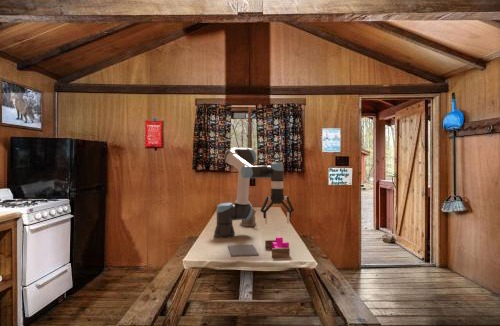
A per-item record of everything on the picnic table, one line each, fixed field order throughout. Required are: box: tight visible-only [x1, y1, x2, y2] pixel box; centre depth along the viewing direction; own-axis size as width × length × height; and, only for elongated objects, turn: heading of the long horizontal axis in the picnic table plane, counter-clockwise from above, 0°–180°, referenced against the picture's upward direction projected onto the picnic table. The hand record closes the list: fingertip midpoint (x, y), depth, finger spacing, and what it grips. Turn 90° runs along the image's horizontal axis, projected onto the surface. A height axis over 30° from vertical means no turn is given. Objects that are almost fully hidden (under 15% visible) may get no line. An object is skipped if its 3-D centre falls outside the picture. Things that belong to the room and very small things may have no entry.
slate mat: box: [227, 244, 260, 258], centre depth 200 cm, size 22×16×1 cm
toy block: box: [272, 236, 290, 248], centre depth 198 cm, size 15×6×8 cm, turn 12°
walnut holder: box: [264, 239, 291, 259], centre depth 197 cm, size 21×10×5 cm, turn 9°
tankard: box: [239, 207, 257, 227], centre depth 276 cm, size 20×13×15 cm, turn 25°
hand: (277, 223), depth 197 cm, fingers open, 13 cm apart
